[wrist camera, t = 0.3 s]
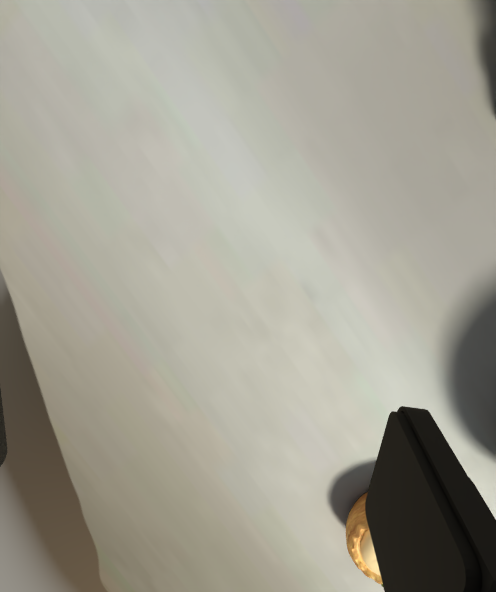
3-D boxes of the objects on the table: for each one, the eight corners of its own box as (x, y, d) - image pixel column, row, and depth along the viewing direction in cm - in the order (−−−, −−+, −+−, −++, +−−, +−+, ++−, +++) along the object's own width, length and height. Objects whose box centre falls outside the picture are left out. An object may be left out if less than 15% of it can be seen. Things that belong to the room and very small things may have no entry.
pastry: (458, 510, 49) (500, 584, 41) (387, 562, 52) (412, 640, 44) (391, 458, 47) (420, 526, 38) (320, 516, 50) (333, 589, 41)
